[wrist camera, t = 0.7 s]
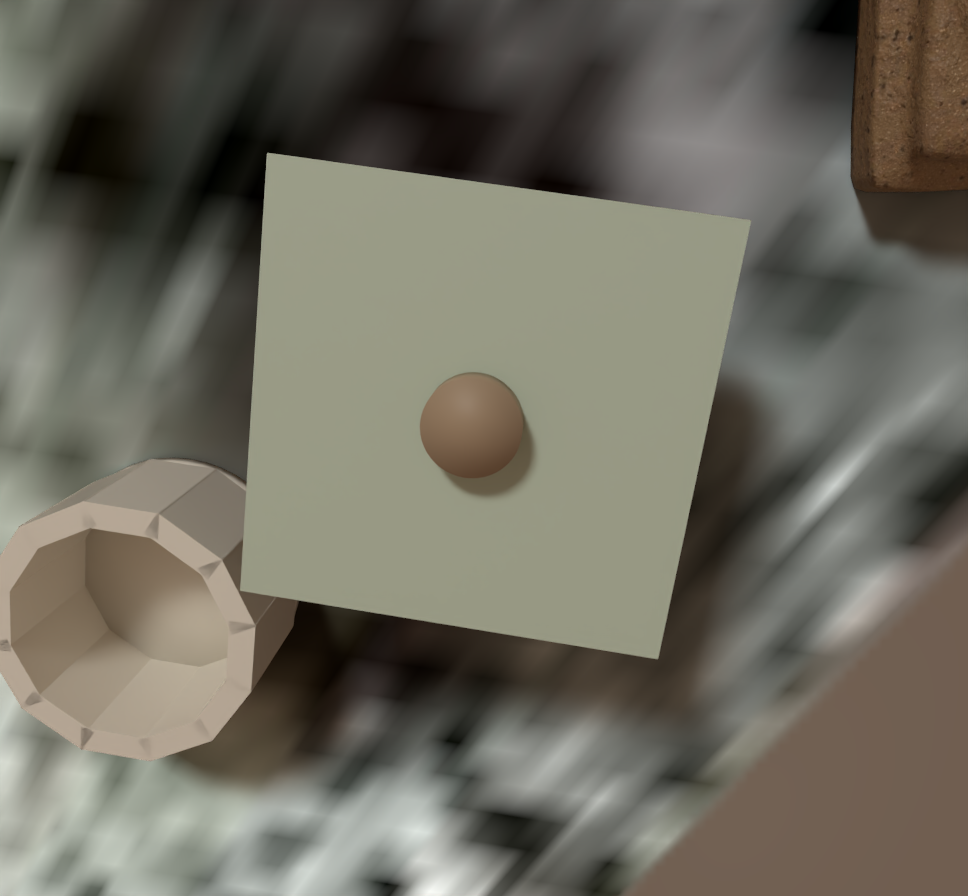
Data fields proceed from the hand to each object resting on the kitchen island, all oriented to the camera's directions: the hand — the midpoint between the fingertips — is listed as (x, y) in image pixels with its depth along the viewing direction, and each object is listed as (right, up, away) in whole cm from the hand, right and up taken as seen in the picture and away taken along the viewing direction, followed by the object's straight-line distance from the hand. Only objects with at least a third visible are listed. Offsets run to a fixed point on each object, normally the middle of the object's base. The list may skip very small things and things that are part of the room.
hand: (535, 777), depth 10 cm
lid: (-1, +5, +13) cm, 14 cm away
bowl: (-11, -1, +22) cm, 24 cm away
